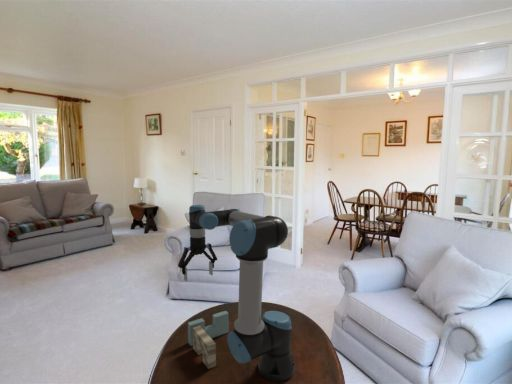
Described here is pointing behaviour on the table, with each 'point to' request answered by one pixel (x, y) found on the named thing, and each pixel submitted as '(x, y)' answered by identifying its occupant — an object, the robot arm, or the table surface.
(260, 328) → the robot arm
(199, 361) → the table surface
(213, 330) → the base plate
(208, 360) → the beige bar
